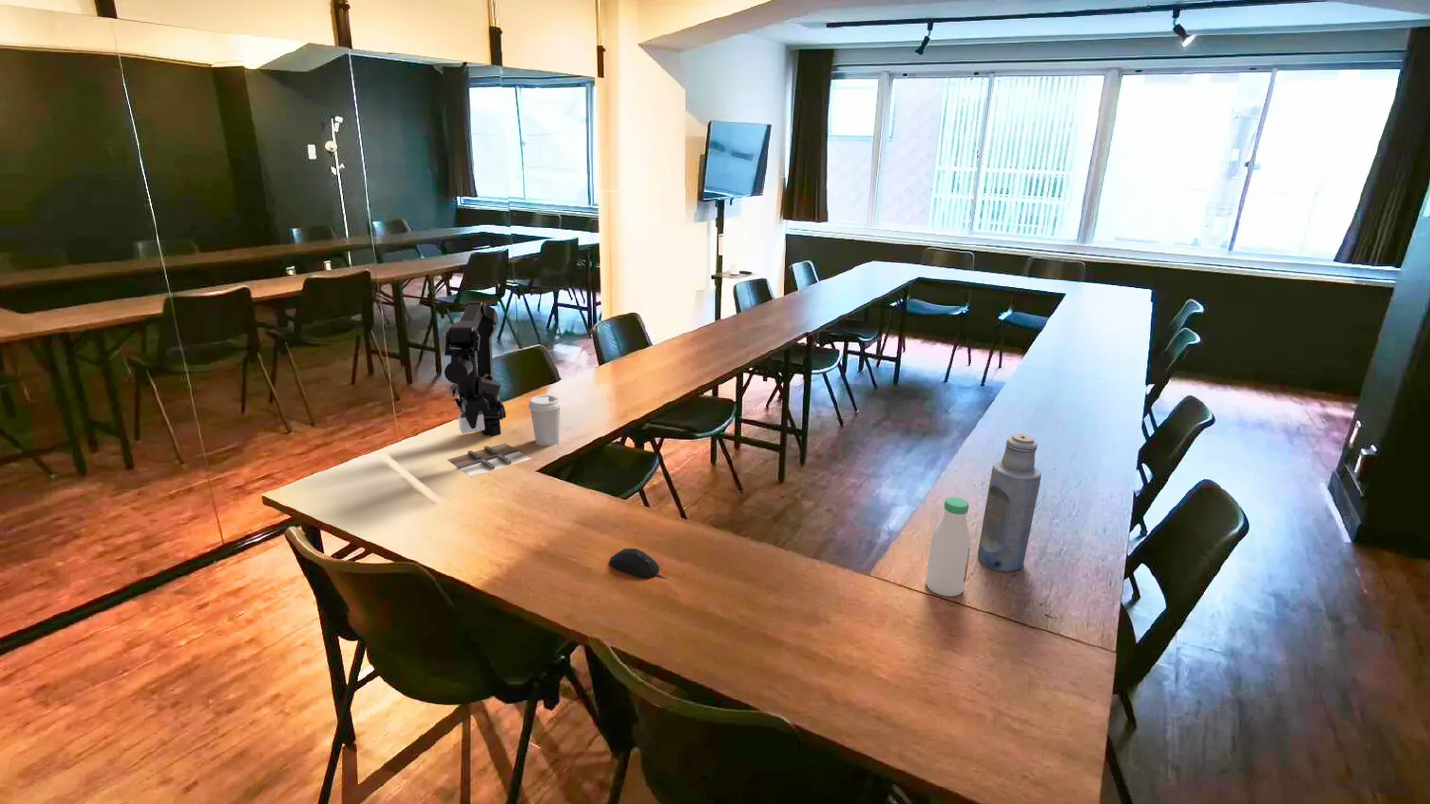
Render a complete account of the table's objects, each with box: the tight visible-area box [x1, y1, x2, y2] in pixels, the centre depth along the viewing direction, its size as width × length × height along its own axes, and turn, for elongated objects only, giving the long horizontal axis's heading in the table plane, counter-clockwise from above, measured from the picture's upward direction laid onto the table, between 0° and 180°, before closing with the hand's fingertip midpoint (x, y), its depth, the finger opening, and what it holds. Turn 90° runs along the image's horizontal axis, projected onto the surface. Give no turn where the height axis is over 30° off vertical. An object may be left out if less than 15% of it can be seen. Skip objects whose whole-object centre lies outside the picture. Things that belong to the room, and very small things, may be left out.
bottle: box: [977, 433, 1042, 573], centre depth 154 cm, size 10×10×30 cm
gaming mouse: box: [609, 547, 667, 580], centre depth 153 cm, size 6×15×4 cm, turn 58°
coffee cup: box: [528, 394, 562, 447], centre depth 212 cm, size 10×10×15 cm
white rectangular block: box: [457, 411, 485, 434], centre depth 196 cm, size 6×3×5 cm, turn 121°
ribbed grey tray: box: [447, 442, 532, 478], centre depth 202 cm, size 15×18×2 cm
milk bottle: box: [925, 496, 972, 598], centre depth 146 cm, size 8×8×20 cm
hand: (471, 426), depth 196 cm, fingers closed on white rectangular block, 3 cm apart
